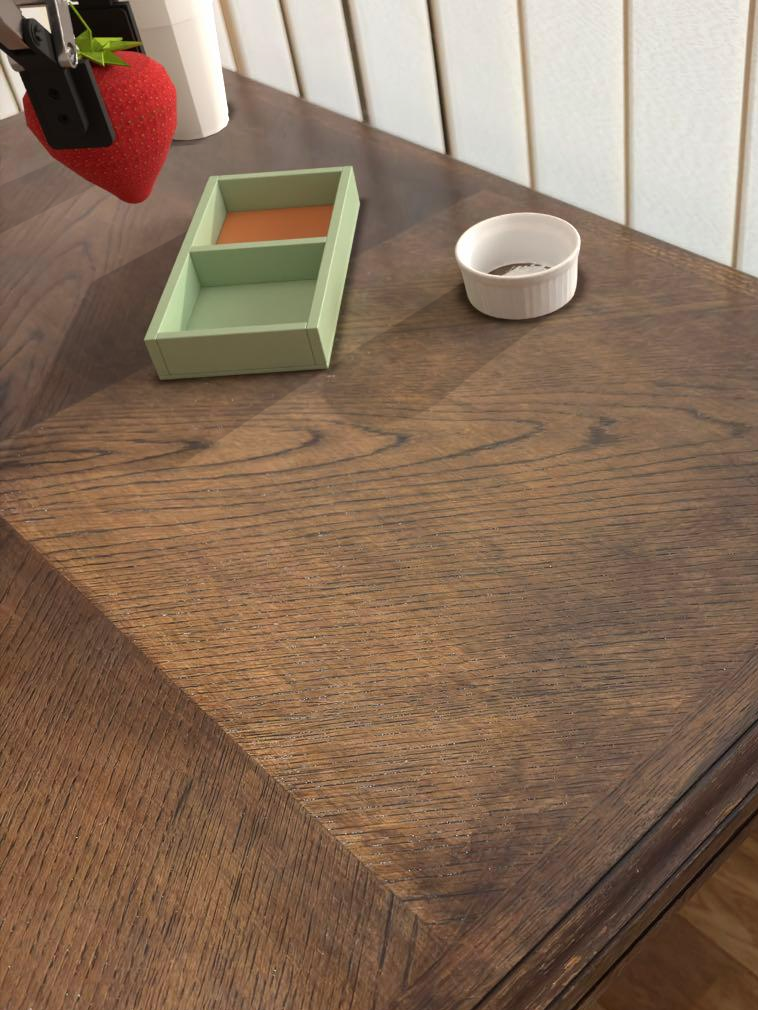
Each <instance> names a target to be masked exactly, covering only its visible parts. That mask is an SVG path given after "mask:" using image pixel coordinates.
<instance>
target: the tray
mask: <svg viewBox="0 0 758 1010" xmlns="http://www.w3.org/2000/svg"><path fill="white" fill-rule="evenodd" d="M197 204H198V205H197V207H196V209H195V212H194V215H193V216H192V219H191V222H190V224H189V227H188V229H187V232H186V234H185V236H184V239H183V242H182V244H181V247H180V249H179V252H178V254H177V256H176V259H175V261H174V264H173V267H172V269H171V272H170V274H169V275H168V279H167V281H166V283H165V286H164V289H163V291H162V294H161V296H160V298H159V301H158V303H157V307H156V309H155V310H154V313H153V316H152V318H151V321H150V323H149V326H148V328H147V331H146V333H145V336H144V339H143V343H144V344H145V347H146V349H147V352H148V355H149V357H150V360H151V362H152V364H153V366H154V369H155V372H156V375H157V376H158V378H159V380H160V381H162V380H163V381H165V380H177V379H193V378H208V377H221V376H222V377H223V376H235V375H237V376H238V375H239V376H240V375H251V374H266V373H267V374H268V373H281V372H295V371H296V372H297V371H311V370H321V369H322V370H324V369H329V367H330V362H331V357H332V352H333V351H332V350H333V347H334V340H335V335H336V332H337V325H338V320H339V315H340V309H341V305H342V299H343V295H344V288H345V283H346V279H347V273H348V268H349V264H350V263H349V262H350V259H351V258H350V257H351V252H352V247H353V243H354V237H355V232H356V227H357V222H358V216H359V212H360V211H359V210H360V206H361V202H360V196H359V191H358V187H357V182H356V177H355V172H354V168H353V165H345V166H344V165H343V166H333V167H317V168H306V169H305V168H303V169H292V170H279V171H276V170H275V171H265V172H250V173H249V172H248V173H239V174H238V173H237V174H236V173H235V174H223V175H211V176H209V177H208V179H207V182H206V184H205V186H204V190H203V192H202V195H201V197H200V199H199V202H198V203H197Z"/></svg>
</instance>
